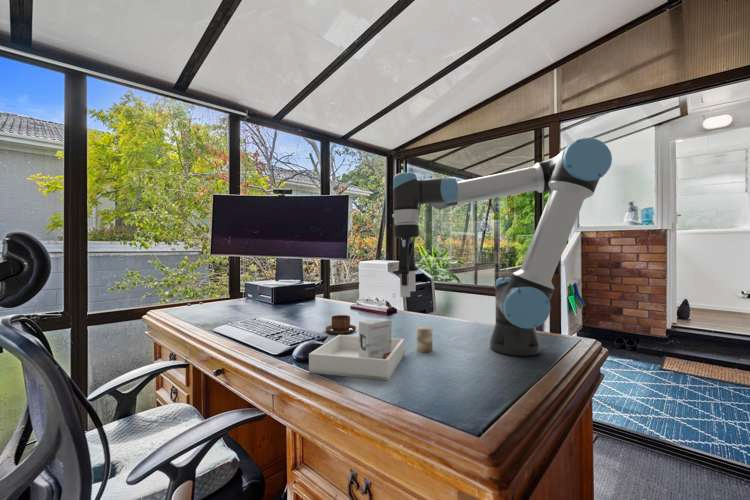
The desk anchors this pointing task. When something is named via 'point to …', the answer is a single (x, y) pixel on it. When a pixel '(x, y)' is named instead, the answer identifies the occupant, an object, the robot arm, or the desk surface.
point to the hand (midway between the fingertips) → (408, 294)
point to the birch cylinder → (424, 339)
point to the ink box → (375, 338)
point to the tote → (354, 359)
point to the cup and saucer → (340, 325)
